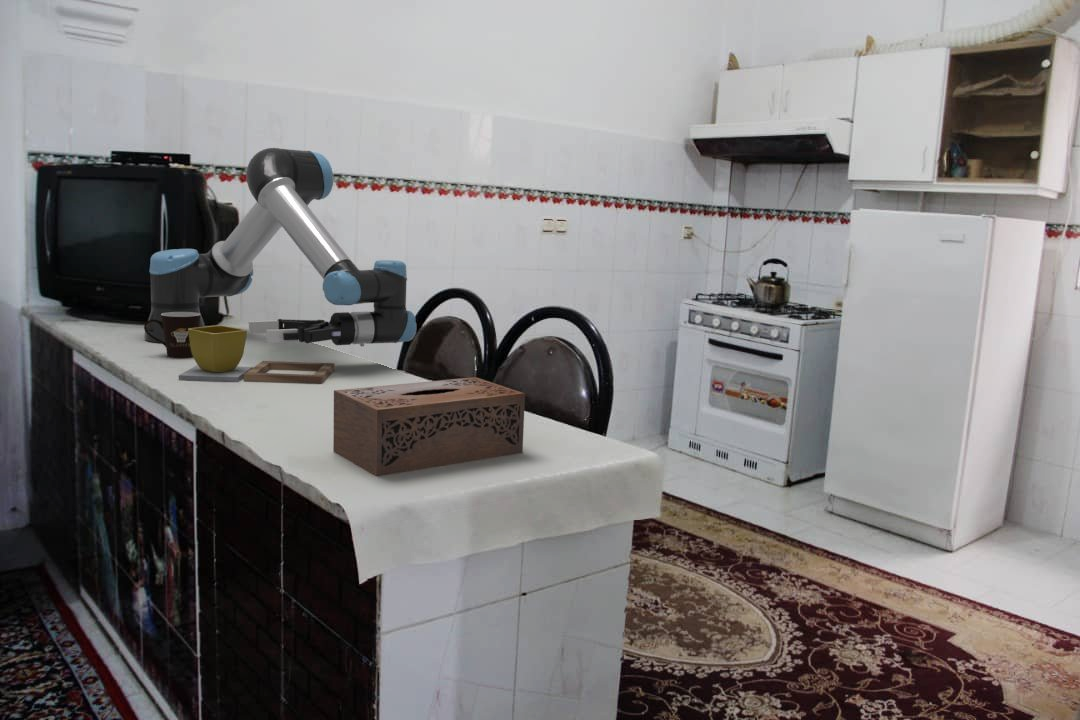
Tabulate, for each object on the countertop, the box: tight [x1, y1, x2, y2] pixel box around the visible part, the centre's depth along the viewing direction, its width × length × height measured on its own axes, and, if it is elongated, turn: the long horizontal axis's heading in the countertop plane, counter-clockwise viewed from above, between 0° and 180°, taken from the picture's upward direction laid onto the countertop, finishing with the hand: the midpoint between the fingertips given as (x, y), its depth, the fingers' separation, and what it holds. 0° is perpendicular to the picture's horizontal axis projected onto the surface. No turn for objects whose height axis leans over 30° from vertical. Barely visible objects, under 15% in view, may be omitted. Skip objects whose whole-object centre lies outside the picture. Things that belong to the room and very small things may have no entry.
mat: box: [178, 364, 254, 383], centre depth 190 cm, size 12×12×1 cm
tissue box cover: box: [332, 376, 526, 477], centre depth 139 cm, size 26×14×10 cm, turn 127°
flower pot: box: [188, 324, 248, 373], centre depth 190 cm, size 9×9×9 cm
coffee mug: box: [143, 312, 202, 359], centre depth 210 cm, size 12×9×10 cm
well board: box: [243, 360, 335, 385], centre depth 194 cm, size 16×16×2 cm
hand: (257, 332), depth 193 cm, fingers open, 13 cm apart
